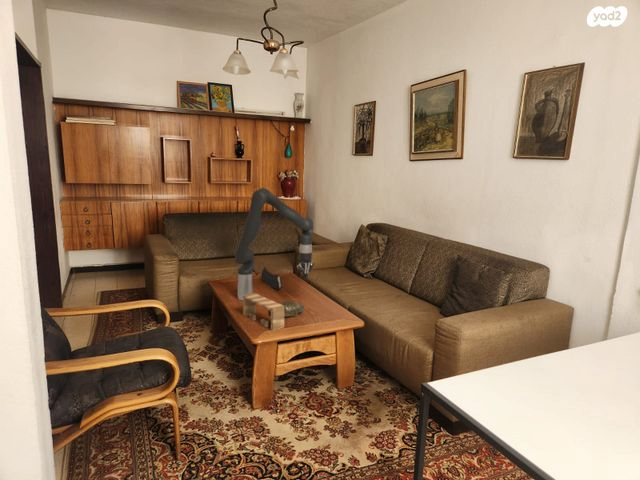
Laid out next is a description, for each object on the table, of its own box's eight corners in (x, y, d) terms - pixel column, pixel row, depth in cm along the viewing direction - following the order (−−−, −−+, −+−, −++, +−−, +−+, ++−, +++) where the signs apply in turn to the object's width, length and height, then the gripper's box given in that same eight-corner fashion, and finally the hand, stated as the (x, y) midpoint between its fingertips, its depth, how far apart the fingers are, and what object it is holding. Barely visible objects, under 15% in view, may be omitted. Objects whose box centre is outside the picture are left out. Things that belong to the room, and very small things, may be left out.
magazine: (259, 268, 308) (275, 265, 282) (263, 267, 309) (280, 265, 283) (262, 290, 307) (278, 290, 281) (266, 290, 308) (283, 289, 282)
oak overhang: (243, 315, 238) (242, 295, 236) (253, 312, 243) (253, 292, 241) (273, 330, 217) (273, 309, 215) (284, 327, 222) (284, 306, 220)
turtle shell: (265, 302, 244) (296, 293, 251) (268, 316, 246) (299, 306, 253) (273, 311, 229) (305, 301, 236) (275, 325, 232) (308, 315, 238)
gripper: (309, 248, 252) (309, 275, 255) (293, 251, 243) (292, 279, 246) (318, 250, 246) (317, 278, 250) (301, 253, 237) (300, 282, 241)
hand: (305, 279), depth 248 cm, fingers closed
